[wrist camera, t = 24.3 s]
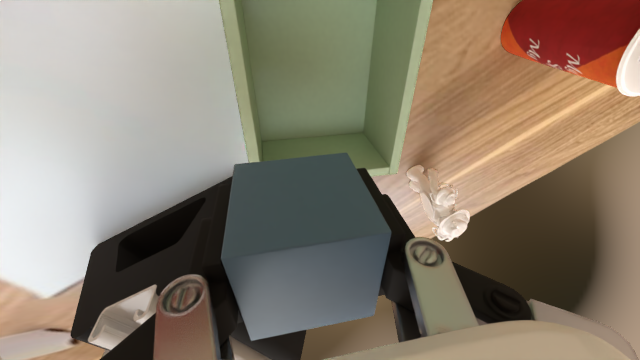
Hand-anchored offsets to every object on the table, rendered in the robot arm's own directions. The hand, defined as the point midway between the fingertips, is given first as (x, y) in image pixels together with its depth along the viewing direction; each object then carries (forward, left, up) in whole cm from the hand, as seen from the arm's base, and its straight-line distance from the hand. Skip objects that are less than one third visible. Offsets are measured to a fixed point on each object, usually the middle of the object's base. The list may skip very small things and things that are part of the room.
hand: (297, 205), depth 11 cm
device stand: (+3, -27, -20) cm, 34 cm away
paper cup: (+22, +18, -20) cm, 35 cm away
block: (0, 0, 0) cm, 0 cm away
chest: (+3, +3, -20) cm, 20 cm away
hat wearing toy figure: (+24, -3, -20) cm, 31 cm away
